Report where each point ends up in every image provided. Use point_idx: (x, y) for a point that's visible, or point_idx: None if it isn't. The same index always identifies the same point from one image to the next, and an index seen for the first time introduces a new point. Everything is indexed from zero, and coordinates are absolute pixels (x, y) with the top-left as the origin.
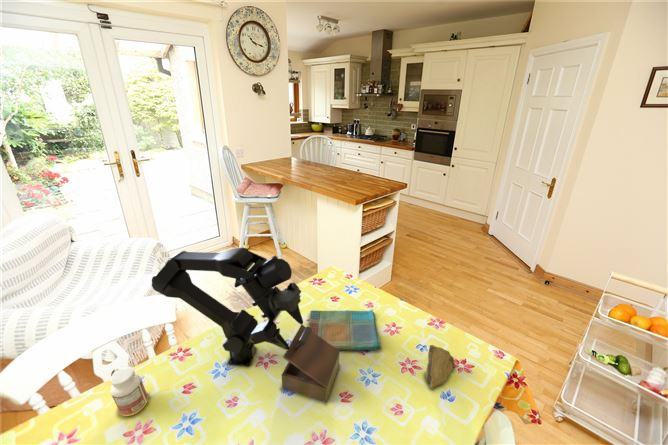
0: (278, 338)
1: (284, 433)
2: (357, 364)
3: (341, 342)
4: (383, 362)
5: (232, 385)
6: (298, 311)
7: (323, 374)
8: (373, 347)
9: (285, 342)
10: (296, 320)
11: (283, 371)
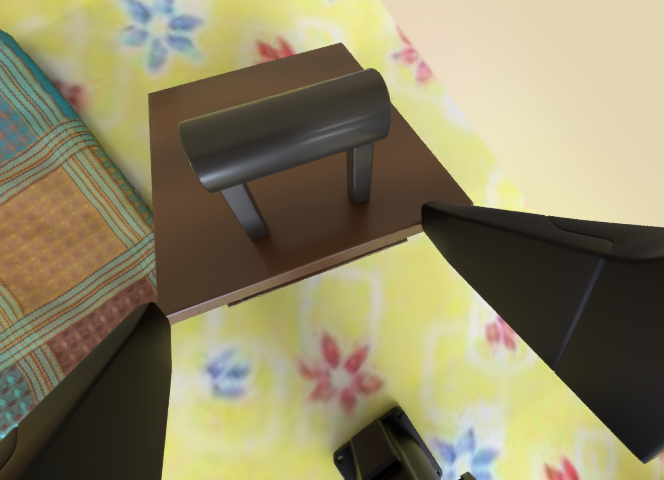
0: (641, 231)
1: (467, 143)
2: (139, 87)
3: (82, 180)
4: (65, 7)
5: (474, 381)
6: (34, 436)
7: (318, 66)
8: (15, 46)
9: (477, 217)
10: (166, 372)
11: (391, 245)
